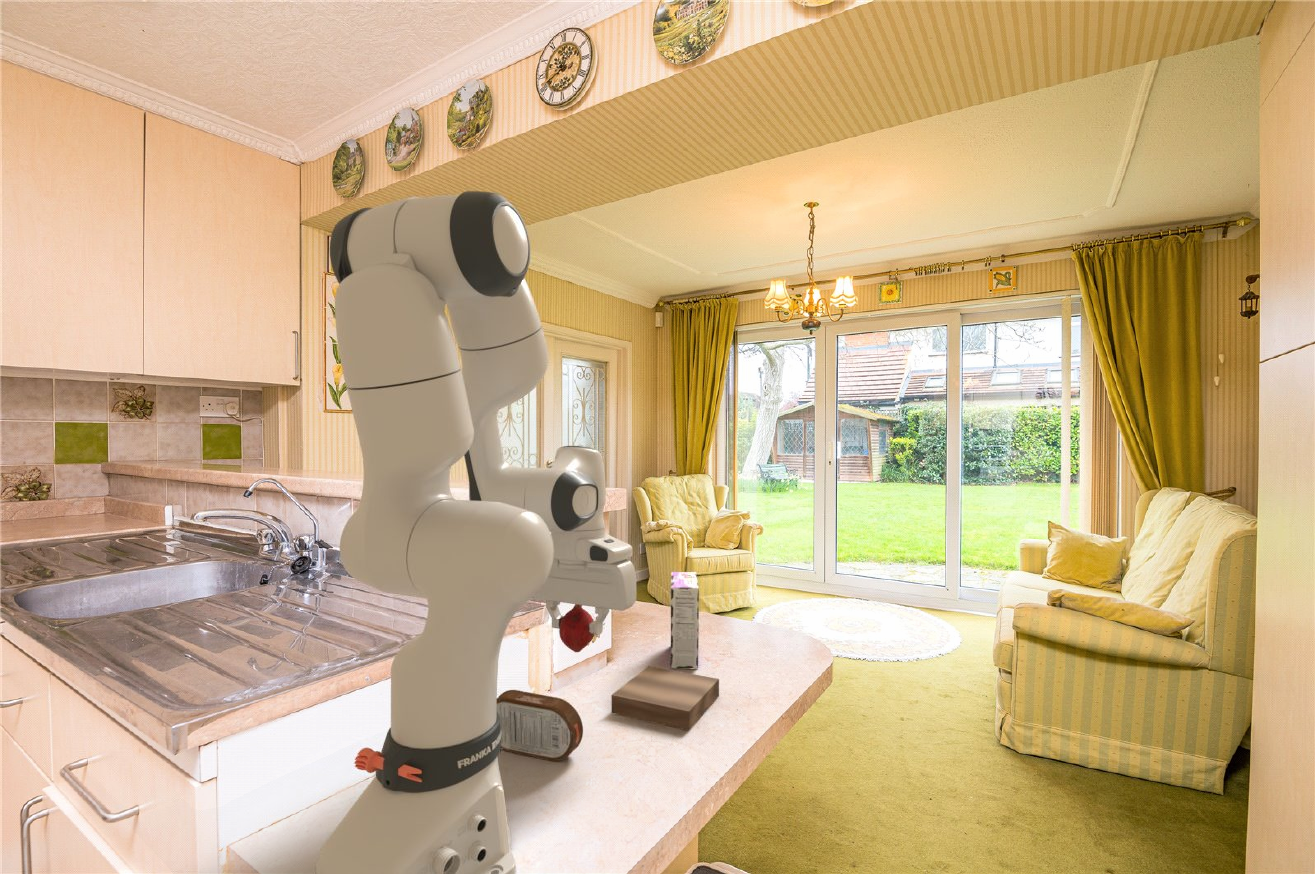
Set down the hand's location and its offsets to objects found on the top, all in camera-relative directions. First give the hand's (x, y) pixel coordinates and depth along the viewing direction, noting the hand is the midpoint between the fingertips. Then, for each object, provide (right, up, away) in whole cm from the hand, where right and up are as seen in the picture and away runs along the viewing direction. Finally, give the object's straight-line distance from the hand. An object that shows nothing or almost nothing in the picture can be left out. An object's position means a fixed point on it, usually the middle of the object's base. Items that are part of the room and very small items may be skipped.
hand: (576, 630), depth 97 cm
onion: (0, -4, 0) cm, 4 cm away
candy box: (+19, -15, +28) cm, 37 cm away
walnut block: (+15, -15, +6) cm, 21 cm away
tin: (-5, -15, -10) cm, 19 cm away
